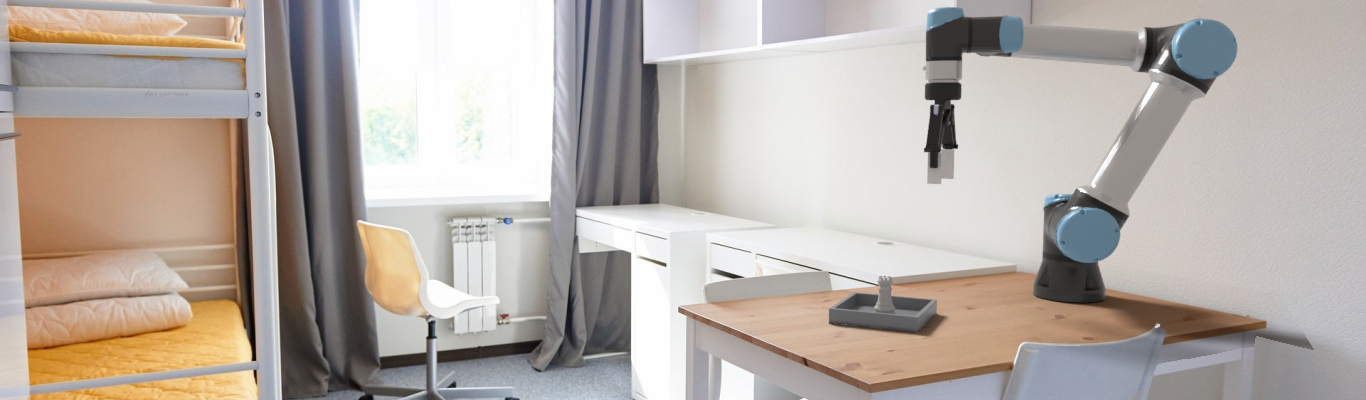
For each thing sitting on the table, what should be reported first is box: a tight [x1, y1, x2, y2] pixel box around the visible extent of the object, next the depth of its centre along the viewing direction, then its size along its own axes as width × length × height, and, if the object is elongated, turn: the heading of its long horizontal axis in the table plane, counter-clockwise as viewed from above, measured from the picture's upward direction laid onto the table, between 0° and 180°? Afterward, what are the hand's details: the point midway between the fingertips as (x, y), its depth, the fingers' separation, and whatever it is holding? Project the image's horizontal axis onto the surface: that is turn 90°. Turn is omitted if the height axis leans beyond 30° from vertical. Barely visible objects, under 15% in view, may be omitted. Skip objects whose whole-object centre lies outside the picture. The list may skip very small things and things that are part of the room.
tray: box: [828, 291, 938, 333], centre depth 191 cm, size 18×18×3 cm
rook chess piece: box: [874, 275, 896, 314], centre depth 191 cm, size 4×4×8 cm
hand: (940, 181), depth 203 cm, fingers open, 13 cm apart
